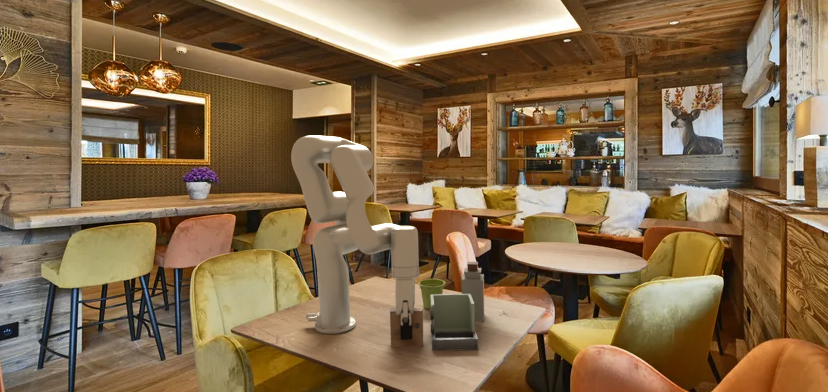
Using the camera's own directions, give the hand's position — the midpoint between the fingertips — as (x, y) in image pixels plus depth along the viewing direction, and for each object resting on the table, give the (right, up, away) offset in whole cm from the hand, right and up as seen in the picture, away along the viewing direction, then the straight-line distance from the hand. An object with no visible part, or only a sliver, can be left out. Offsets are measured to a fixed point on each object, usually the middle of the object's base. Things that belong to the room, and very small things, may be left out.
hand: (407, 332), depth 116 cm
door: (0, -3, 0) cm, 3 cm away
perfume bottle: (+21, -2, +19) cm, 29 cm away
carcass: (+13, -3, +5) cm, 14 cm away
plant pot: (+8, -1, +30) cm, 31 cm away
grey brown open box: (+13, -3, -1) cm, 14 cm away
